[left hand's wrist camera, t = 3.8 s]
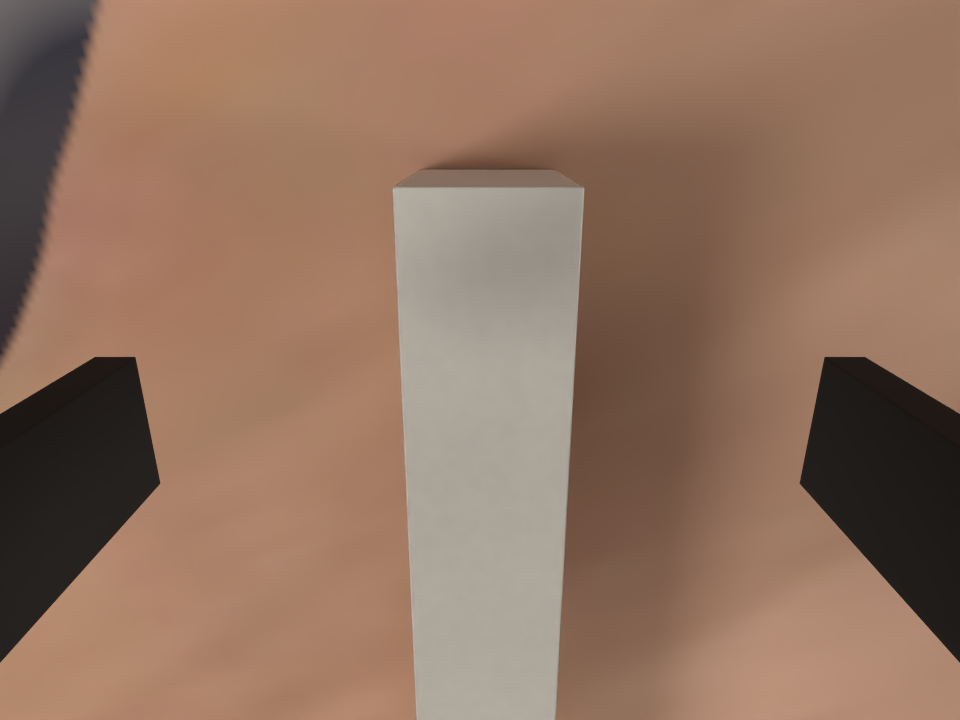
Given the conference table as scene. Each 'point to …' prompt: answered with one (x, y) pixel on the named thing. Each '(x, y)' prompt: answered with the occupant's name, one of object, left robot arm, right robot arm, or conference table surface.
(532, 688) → the bar
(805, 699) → the conference table surface
